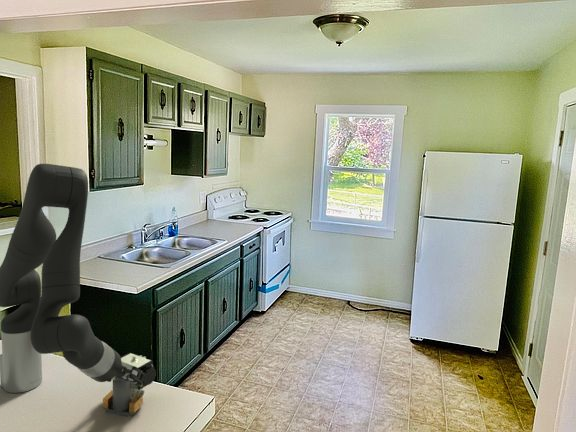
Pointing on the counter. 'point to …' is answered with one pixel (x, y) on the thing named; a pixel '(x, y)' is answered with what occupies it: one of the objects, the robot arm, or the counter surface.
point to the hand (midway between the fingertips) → (125, 380)
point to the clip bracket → (133, 407)
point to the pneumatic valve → (144, 366)
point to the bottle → (121, 395)
